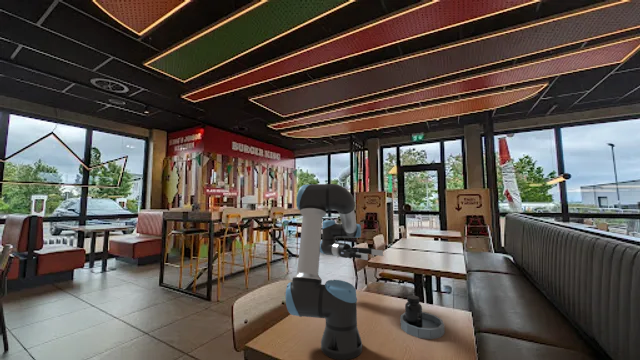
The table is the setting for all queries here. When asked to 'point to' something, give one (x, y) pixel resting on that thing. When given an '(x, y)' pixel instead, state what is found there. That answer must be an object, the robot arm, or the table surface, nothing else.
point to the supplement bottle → (413, 311)
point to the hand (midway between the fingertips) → (375, 255)
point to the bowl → (424, 327)
